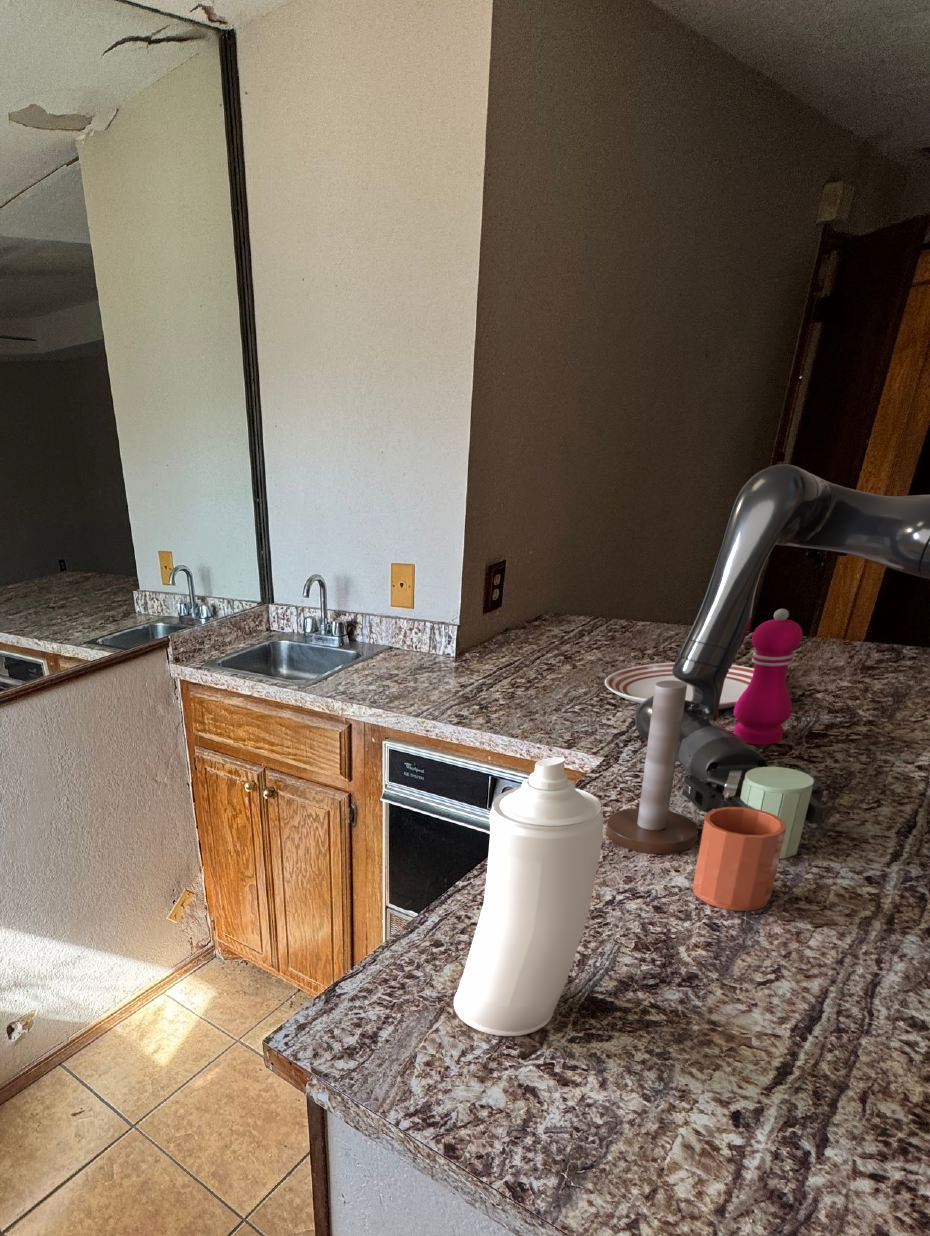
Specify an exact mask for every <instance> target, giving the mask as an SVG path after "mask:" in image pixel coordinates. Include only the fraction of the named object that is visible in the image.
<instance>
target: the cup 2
mask: <svg viewBox="0 0 930 1236" xmlns="http://www.w3.org/2000/svg"><path fill="white" fill-rule="evenodd" d="M798 770H799V769H793V768H790V767H783V766H782V767H781V766H769V767H760V768H755V769H751V770H749V771H748V772H747V773H746V774H745V779H744V781H743V786H742V792H741V797H740V798H741V800H742V801H743V802H744V803H745V804H747V805H748V806H749V807H750V808H751V809H757V810H762V811H765V812H768V813H770V814H773V815H776V816H777V817H779V818H780V819H781V820H783V821H784V822H785V825H786V832H785V836H784V840H783V845H782V849H781V853H780V858H779V859H788V858H791V857H793V856H796V855H797V854H798V850H799V846H800V843H801V838H802V834H803V830H804V826H805V821H806V820H805V818H806V814H807V810H808V805H809V801H810V797H811V793H812V789H813V785H814V779H813V778H812V777H811V776H810V775H808V774H806V773H804V772H801V771H798Z"/></svg>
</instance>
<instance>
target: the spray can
mask: <svg viewBox="0 0 930 1236" xmlns="http://www.w3.org/2000/svg"><path fill="white" fill-rule="evenodd" d="M565 767H566V766H565V758H564V757H559V756H552V757H546V758H543V759H539V760H537V761H536V762H535V764H534V771H533V772H531V773H530V774H529V777H528V778H526V779H524V780H523V781H522V783H521V786H518V787H514V788H511V789H508V790H505V791H504V792H502V793H500V794H499V795H497V796H496V797H495V798H494V799H493V801H492V806H491V809H490V811H489V842H488V843H489V844H488V855H487V869H486V877H485V878H486V879H485V887H484V897H483V904H482V907H481V911H480V914H479V918H478V920H477V923H476V928H475V932H474V935H473V939H472V942H471V946H470V949H469V952H468V956H467V959H466V962H465V966H464V969H463V973H462V976H461V979H460V982H459V985H458V988H457V991H456V993H455V995H454V998H453V1008H454V1011H455V1013H456V1014H457V1016H458V1018H459V1019H460V1020H461V1021H462V1022H463V1023H465V1024H466V1025H467V1026H469V1027H471V1028H473V1029H474V1030H476V1031H479V1032H481V1033H484V1034H488V1035H491V1036H498V1037H520V1036H524V1035H525V1036H526V1035H529V1034H533V1033H535V1032H537V1031H539V1030H541V1029H542V1028H544V1027H545V1026H546V1025H547V1024H548V1023H549V1022H550V1021H551V1019H552V1018H553V1015H554V1012H555V1010H556V1007H557V1005H558V1003H559V1001H560V999H561V996H562V994H563V993H564V992H563V991H564V990H565V987H566V984H567V981H568V979H569V976H570V973H571V969H572V966H573V964H574V960H575V958H576V955H577V951H578V948H579V946H580V942H581V939H582V937H583V933H584V930H585V927H586V925H587V921H588V919H589V913H590V908H591V903H592V897H593V892H594V887H595V882H596V878H597V872H598V866H599V861H600V856H601V851H602V846H603V840H604V836H603V835H604V815H603V812H602V808H603V807H602V804H601V802H600V800H599V799H598V798H597V797H596V796H595V795H593V794H592V793H589V792H587V791H585V790H582V789H580V788H576V784H575V782H573V781H572V780H570V779H569V776H568V775H567V774H566V773H565Z"/></svg>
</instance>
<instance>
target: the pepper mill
mask: <svg viewBox="0 0 930 1236" xmlns="http://www.w3.org/2000/svg"><path fill="white" fill-rule="evenodd" d="M789 617H790V613H789V611H788V610H787V609H786V608H779V609H777V610H776V611H775V612H774V614H773V619H769V620H767V621H764V622H762V623H760V625H758V626H757V627H756V628H755V629H754V631H753V634H752V635H751V645H752V647H753V648H754V649H755V650H756V651H754V652H753V653H752V656H753V657H752V658H751V662H752V663H753V665H754V667H753V668H754V673H753V676H752V679H751V682H750V684H749V685H748V687H747V688H746V690H745V691H744V692H743V693H742V695H741V696H740V697H739V699H738V701H737V703H736V705H735V706H734V708H733V715H734V717H735V719H736V720H737V721H738V723H736V724H734V728H733V733H734V734H736V735H737V736H738V737H740V738H741V739H742V740H744V741H745V742H746V743H747V744H749V745H750V744H751V745H772V744H777V743H779V742H780V741H782V739H783V736H784V735H783V734H784V730H785V729H784V727H783V726H782V725H783V724H784V723H785V722H787V721H788V720H790V718H791V715H792V708H793V705H792V699H791V697H790V693H789V690H788V687H787V673H788V672H787V671H788V668H789V665H790V664H793V663H794V657H795V652H793V651H794V650H795V649H796V648H797V647H799V646H800V644H801V643H802V640H803V636H804V635H803V633H804V632H803V629H802V627H801V625H800V624H799V623H798V622H796V621H794V620H791V619H788V618H789Z"/></svg>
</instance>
